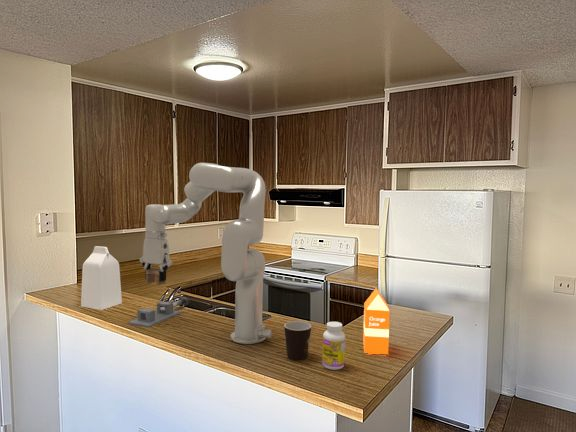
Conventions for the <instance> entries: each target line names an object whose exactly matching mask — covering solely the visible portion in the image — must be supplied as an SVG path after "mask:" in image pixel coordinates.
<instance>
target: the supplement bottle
mask: <svg viewBox="0 0 576 432" xmlns="http://www.w3.org/2000/svg"><path fill="white" fill-rule="evenodd" d="M342 330H343V324H342V322H339V321H328V322H327V323H326V330H325V331H324V332H323V334H322V362H321V363H322V366H323V367H324V368H326V369H328V370H334V371H335V370H341V369H343V368H344V366H345V362H346V361H345V359H346V358H345V357H346V356H345V355H346V334H345V333H344V332H343V331H342Z"/></svg>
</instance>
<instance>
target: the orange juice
mask: <svg viewBox="0 0 576 432" xmlns="http://www.w3.org/2000/svg"><path fill="white" fill-rule="evenodd" d="M363 308H364V309H363V336H362V337H363V340H362V345H364V346H363V354H364V353H368V354H367V355H372V354H388V355H389V339H390V338H389V337H390V309H389V306H388V303H387V302H386V300H385V299H384V297H383V295H382V294H381V293H380V291H379V290H378V288H377V287H375V289H374V290H373V291H372V292H371V294H370V295H369V297H368V298H367V299H366V300H365V302H364V303H363Z"/></svg>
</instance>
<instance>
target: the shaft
mask: <svg viewBox="0 0 576 432" xmlns="http://www.w3.org/2000/svg"><path fill="white" fill-rule="evenodd" d="M172 303H173V309H174V308H175V307H179V306H181V305H183V306H188V305H189V303H190V299H189V297H186V296H181V297H178V300H177V301H173V302H172ZM160 311H161V312H164V311H166V306H163V307H161V308H160Z"/></svg>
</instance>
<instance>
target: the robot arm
mask: <svg viewBox="0 0 576 432" xmlns="http://www.w3.org/2000/svg"><path fill="white" fill-rule="evenodd" d="M188 173H189V175H188V178H189V181H188V182H187V184H185V186H184V187H183V189H184V194H185V196H186V197H187V198H185V200H183V201H182V202H180V203H177V204H176V203H175V204H174V203H172V204H158V203H157V204H154V203H152V204H148V205H146V206H145V212H144V213H145V238H144V241H143V248H142V256H141V257H139V263H141V265H142V267H143V270H145V271H144V272H145V273H144V275H145V276H144V277H145V278H144V279H145V280H146V270H148V269H152V265H158V267H159V269H160V270H161V271H160V282H162V281H165V282H166V281H167V271H168V270H169V268H170V267H171V265H173V261H172V259H171V258H170V247H169V242H168V241H169V240H168V238H166V237H168V233H166V225H174V224H183V223H185V222H187V221H189V220H190V219H191V218H193V217H194V216H195V215H196V214H197V213H199V211H200V209H201V207H202V203H203V202H204V201H205V200H206V199H207V198H208V197H209V196H211V195H212V194H213V193H214V192H221V193H242V194H243V195H242V198H241V200H240V204H239V215H238V219H233V220H231V221H229V222H228V223H227V224H226V225H225V226H224V229H223V231H222V236H221V237H222V239H221V255H220V256H221V257H220V258H221V261H220V264H221V265H220V267H221V272H222V274H223V276H224V277H225V279H227V280H228V281H232V282H236V283H235V291H234V293H235V294H234V295H235V297H234V298H235V299H234V306H235V307H234V311H235V312H234V313H235V314H234V331H233V332H232V333H230V340H231V341H232V342H234V343H237V344H242V345H253V344H259V343H261V342H263V341H265V340H266V339H267V338H268V339H269V338H272V335H273V334H272V330H271V329H266V328H265V327H266V325H265V324H263V291H264V289H263V287H264V278H265V277H264V276H265V270H266V258H265V256H264V254H263V253H262V252H261V251H260V250H259V249H255V248H248V247H251V246H255V245H258V244H259V243H261V241H262V240H263V236H264V221H265V220H264V219H265V202H266V193H267V192H266V191H267V189H266V184H265V180H264V179H263V177H262V176H261V175H260V174H259V172H257V171H255V170H253V169H250V168H246V167H233V166H224V165H220V164H217V163H213V162H212V163H211V162H198V163H195V164H194V165H193V166H192V167H191V168H190V170H189V172H188Z"/></svg>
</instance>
